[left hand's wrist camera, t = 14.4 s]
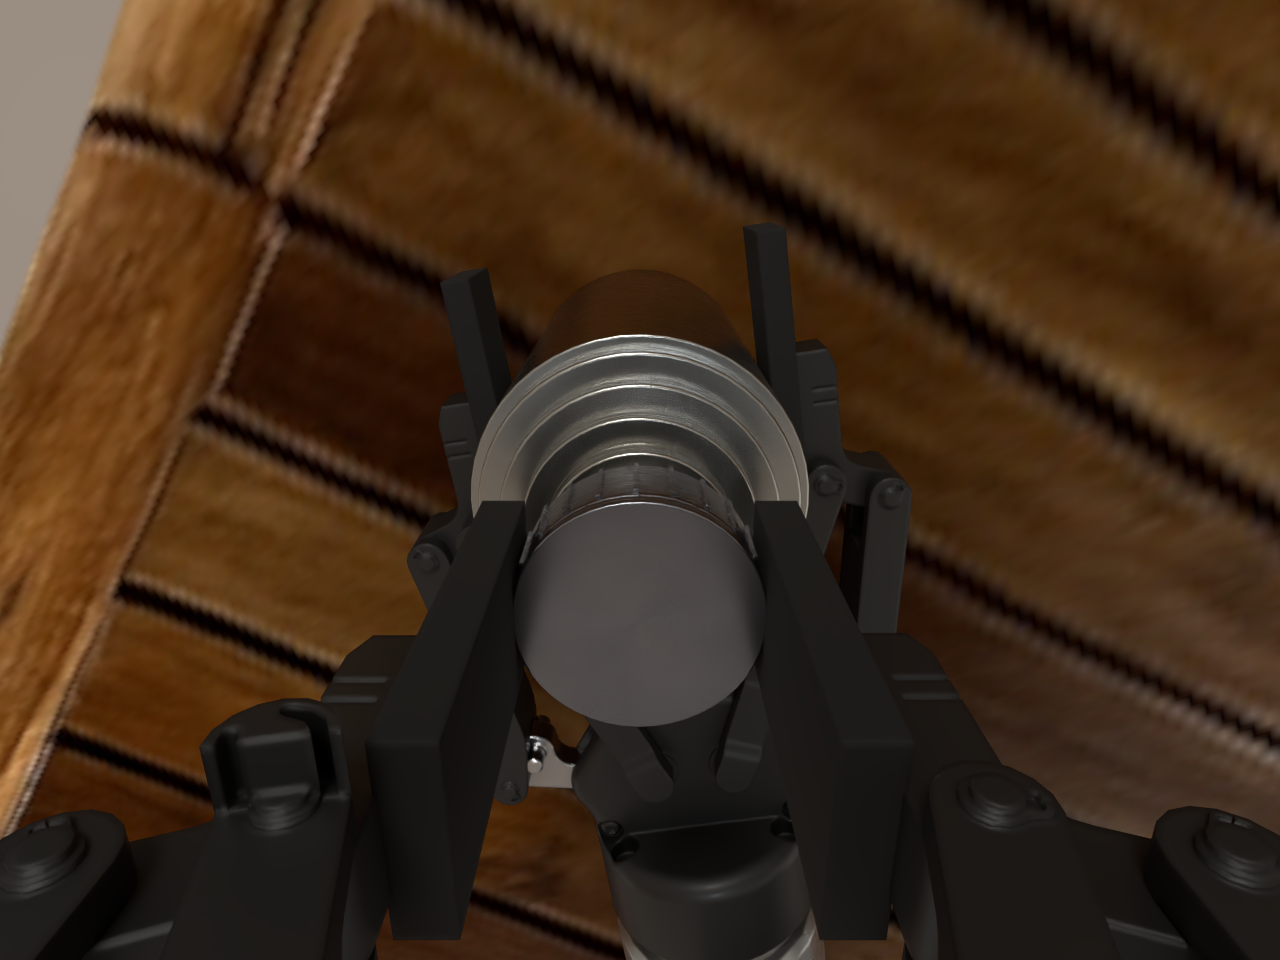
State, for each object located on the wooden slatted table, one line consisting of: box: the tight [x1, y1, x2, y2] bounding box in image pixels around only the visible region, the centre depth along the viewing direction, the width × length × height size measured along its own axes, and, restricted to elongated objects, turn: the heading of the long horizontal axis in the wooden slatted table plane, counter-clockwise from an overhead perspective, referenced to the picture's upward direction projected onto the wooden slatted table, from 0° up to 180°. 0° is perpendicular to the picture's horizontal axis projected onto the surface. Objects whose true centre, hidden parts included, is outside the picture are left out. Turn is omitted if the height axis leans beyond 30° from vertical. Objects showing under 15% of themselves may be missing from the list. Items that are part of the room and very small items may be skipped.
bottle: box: [471, 270, 809, 538], centre depth 21 cm, size 7×7×17 cm
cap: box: [513, 463, 767, 727], centre depth 14 cm, size 4×4×2 cm
